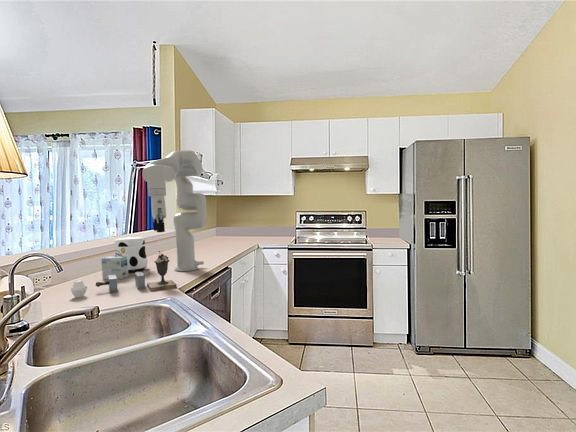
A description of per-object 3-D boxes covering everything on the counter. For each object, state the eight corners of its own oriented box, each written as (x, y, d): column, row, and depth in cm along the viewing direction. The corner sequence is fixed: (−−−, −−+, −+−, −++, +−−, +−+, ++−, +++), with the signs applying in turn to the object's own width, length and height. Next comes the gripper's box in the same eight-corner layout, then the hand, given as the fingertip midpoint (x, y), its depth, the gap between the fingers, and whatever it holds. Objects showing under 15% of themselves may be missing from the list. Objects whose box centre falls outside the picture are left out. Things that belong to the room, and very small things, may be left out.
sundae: (156, 285, 168) (154, 251, 167) (154, 282, 174) (152, 250, 173) (171, 283, 171) (170, 250, 170) (169, 281, 177) (167, 248, 176)
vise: (142, 284, 179) (141, 271, 178) (145, 288, 170) (144, 275, 170) (95, 290, 170) (95, 276, 170) (96, 295, 161) (95, 281, 161)
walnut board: (171, 283, 180) (171, 279, 180) (176, 287, 170) (176, 284, 170) (147, 286, 175) (147, 283, 174) (150, 291, 165) (150, 287, 165)
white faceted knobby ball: (71, 299, 155) (70, 282, 155) (70, 296, 160) (68, 280, 160) (89, 296, 159) (88, 280, 158) (86, 294, 164) (85, 277, 163)
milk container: (107, 273, 208) (105, 240, 207) (127, 267, 225) (125, 236, 224) (135, 274, 204) (134, 240, 203) (154, 267, 221) (152, 236, 220)
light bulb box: (128, 276, 199) (127, 255, 199) (122, 279, 193) (121, 257, 192) (109, 276, 200) (108, 255, 200) (102, 279, 194) (100, 258, 193)
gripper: (169, 192, 164) (171, 232, 165) (162, 193, 179) (164, 229, 180) (150, 192, 161) (153, 233, 161) (145, 193, 176) (147, 230, 177)
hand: (159, 231), depth 171 cm, fingers open, 9 cm apart
